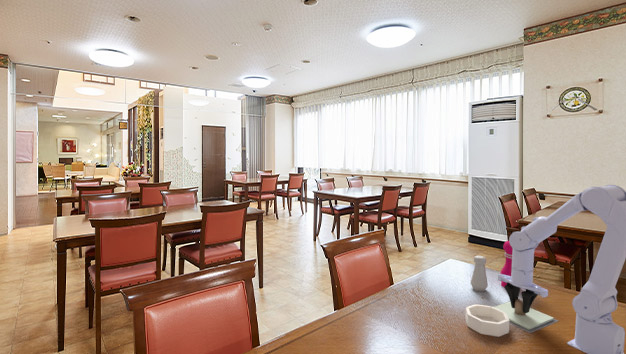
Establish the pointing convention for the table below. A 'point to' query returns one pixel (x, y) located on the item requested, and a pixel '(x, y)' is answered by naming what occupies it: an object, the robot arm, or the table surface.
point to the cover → (524, 315)
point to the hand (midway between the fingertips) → (520, 309)
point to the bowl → (487, 320)
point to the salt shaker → (479, 274)
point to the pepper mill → (507, 261)
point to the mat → (535, 327)
